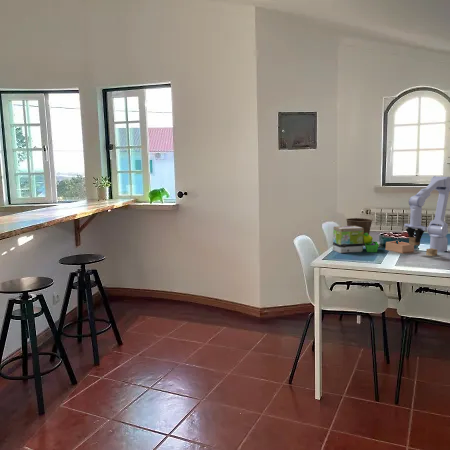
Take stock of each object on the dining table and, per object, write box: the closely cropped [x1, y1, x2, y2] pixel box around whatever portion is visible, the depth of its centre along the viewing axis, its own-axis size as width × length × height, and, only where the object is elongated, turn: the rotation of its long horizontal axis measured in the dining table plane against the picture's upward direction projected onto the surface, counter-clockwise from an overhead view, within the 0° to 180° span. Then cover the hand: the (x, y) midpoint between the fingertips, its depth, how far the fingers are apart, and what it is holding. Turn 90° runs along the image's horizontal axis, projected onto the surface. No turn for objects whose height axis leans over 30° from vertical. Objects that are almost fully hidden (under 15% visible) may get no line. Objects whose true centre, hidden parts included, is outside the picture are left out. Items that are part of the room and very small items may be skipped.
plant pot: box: [345, 217, 373, 247], centre depth 297 cm, size 16×16×16 cm
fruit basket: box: [363, 233, 380, 253], centre depth 275 cm, size 11×9×11 cm
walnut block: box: [408, 236, 421, 246], centre depth 260 cm, size 4×4×4 cm
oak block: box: [425, 247, 438, 257], centre depth 261 cm, size 4×4×4 cm
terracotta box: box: [385, 240, 415, 255], centre depth 273 cm, size 9×13×5 cm
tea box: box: [332, 225, 364, 254], centre depth 277 cm, size 15×10×15 cm, turn 105°
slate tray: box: [383, 248, 421, 256], centre depth 273 cm, size 12×17×1 cm
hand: (414, 241), depth 260 cm, fingers closed on walnut block, 4 cm apart
